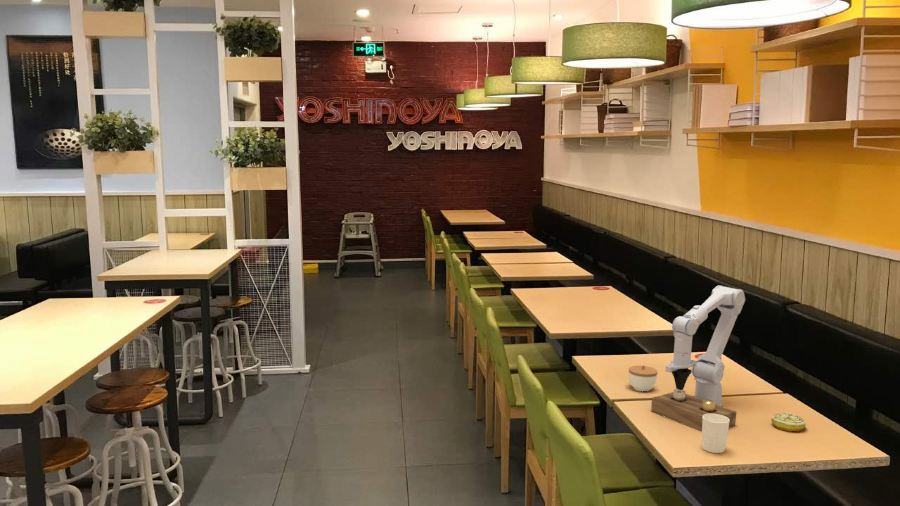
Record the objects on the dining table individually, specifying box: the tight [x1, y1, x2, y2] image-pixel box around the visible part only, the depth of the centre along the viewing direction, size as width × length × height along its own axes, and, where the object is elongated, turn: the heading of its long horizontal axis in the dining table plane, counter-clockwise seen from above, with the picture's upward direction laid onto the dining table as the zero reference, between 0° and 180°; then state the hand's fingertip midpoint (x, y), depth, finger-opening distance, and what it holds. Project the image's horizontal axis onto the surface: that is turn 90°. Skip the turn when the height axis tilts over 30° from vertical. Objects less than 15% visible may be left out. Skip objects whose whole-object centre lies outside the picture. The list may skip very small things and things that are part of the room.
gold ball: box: [702, 399, 715, 413], centre depth 248 cm, size 4×4×4 cm
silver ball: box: [673, 388, 687, 402], centre depth 258 cm, size 4×4×4 cm
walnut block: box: [650, 391, 737, 432], centre depth 253 cm, size 14×24×5 cm, turn 35°
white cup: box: [701, 414, 730, 454], centre depth 228 cm, size 8×8×10 cm
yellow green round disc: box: [770, 412, 807, 432], centre depth 248 cm, size 10×11×4 cm
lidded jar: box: [628, 364, 659, 393], centre depth 282 cm, size 11×11×9 cm
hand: (679, 388), depth 257 cm, fingers closed
